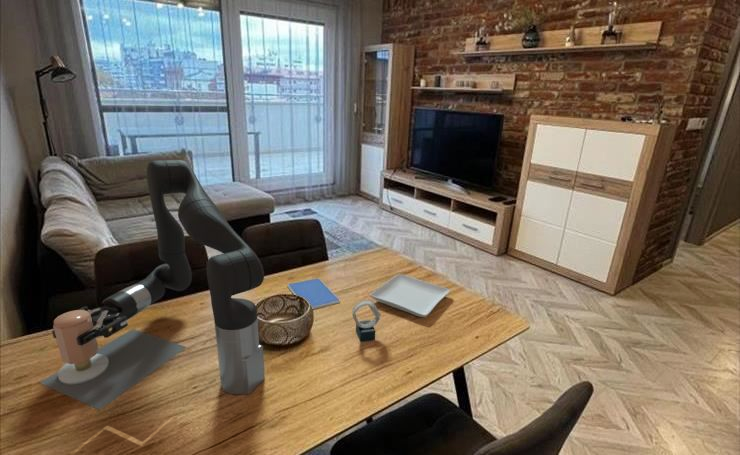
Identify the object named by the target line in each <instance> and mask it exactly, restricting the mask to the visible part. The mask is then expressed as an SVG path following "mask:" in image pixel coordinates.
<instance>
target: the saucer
mask: <svg viewBox="0 0 740 455" xmlns="http://www.w3.org/2000/svg"><path fill="white" fill-rule="evenodd" d="M90 359H91V364H92V366H91V367H90V368H89V369H87V370H84V371H76V369H75V365H74V364H68V363H66V362H65V364H64V365H62V366H61V368H60V369H59V370H58V371H57V372H58V378H59V381H60V382H61V383H63V384H66V385H76V384H81V383H85V382H88V381H91V380H93V379H95V378H97V377H98V376H100V375H101V374H103V373H104V372H105V371H106V370H107V368H108V366H109V361H108V358H107V357H106V356H105V355H102V354H96V355H95V356H93V357H92V358H90Z"/></svg>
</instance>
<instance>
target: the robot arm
mask: <svg viewBox="0 0 740 455" xmlns="http://www.w3.org/2000/svg"><path fill="white" fill-rule="evenodd" d="M146 180H147V188H148V193H149V197H150V204H151V209H152V212H153V216H154V222H155V226H156V232H157V248H158V258H159V259H160V260H161V261H162V262H164V263H162V264H160V265H158V266H156V267H155V268H154V269H153V270H152V271H150V273H149V274H148V275H147V276H146V277H145V279H142V280H140V281H138V282H137V283H135V284H132V285H131V286H128V287H125V288H123V289H121V290H119V291H117V292H116V293H114V294H112V295H110V296H108V297H106V298H105V299H103V301H102V302H101V304H100V305H99V306H98V307H95V308H93V309H89V308H88V306H86V305H85V306H82V307H80V308H79V309H78V310H85V311H88V312H89V314H91V318H92V323H93V327H94V329H90V330H89V331H87V332H85V333H83V334H82V335H80V336H78V337H77V343H78V345H81V346H82V345H84V344H86V343H88V342H89V341H91V340H93V339H94V338H96V339H98V338H101V337H104V338H106V339H107V338H109V337H111V336H113V335H115V334H116V333H118V332H120V331H122V330H123V329H125V328H127V327H128V320H130V319H131V318H133V317H135V316H137V314H139V313H141V312H143V311H144V310H145V309H146V308H148V307H149V306H150V305H151V306H152V304H154V303H155V302H157V301H159V300H160V299H162V297H164V295H165V293H166V288H167V289H170V290H173V291H176V292H181V291H182V292H183V291H185V290H187V289H188V288H189V286H190V285H191V283H192V280H193V274H192V268H191V266H190V263H189V260H188V257H187V255H186V245H185V243H186V242H185V233H184V232H186V234H187V235H188V236H189V237H190V238H191V239H193V241H195V242H197V243H199V244H201V245H203V246H205V247H208V248H210V249H213V250H215V251H218V252H220V253H222V254H218V255H213V256H211V257H209V258H208V260H207V263H206V277H207V284H208V289H209V295H210V301H211V308H212V315H213V321H214V329H215V330H214V332H215V339H216V350H217V359H218V360H217V361H218V369H219V376H220V377H219V378H220V386H221V389H222V390H223V391H224V392H226V393H228V394H231V395H243V394H246V395H250V394H251V393H252V392H253V391H254V390H256V388H257V387H258V386H259V385H260V384H261V383H262V382H263V381H264V380H265V378H266V377H265V361H264V347H263V346H264V345H261V344H260V340H259V339H260V337H259V323H258V308H257V306H256V303H254V302H253V301H251V300H250V299H246V298H238V297H236V298H235V297H233V296H235V295H238V294H243V293H245V292H248V291H252V290H254V289H256V288H259V287H260V286H261V285H262V284H263V283H264V280H265V270H264V267H263V264H262V263H261V260H260V258H259V257H258V255H257V254H256V252H254V250H253V249H252V248H251V247H250V245H248V243H246V242H245V240H244V239H243V238H242V237H241V236H240V235H239V234H238V233H237V232H236V231H235V230H234V228H233V227H232V226H231V225H230V224H229V223H228V221H227V220H226V218H225V217H224V215H223V214H222V212H221V211H220V209H219V208H218V207H217V205H216V204H215V202H213V200H212V199H211V198H210V197H209V195H208V193H207V192H206V191H205V189H204V188H203V185H201V183H200V181H199V179H198V178H197V175H196V174H195V172H194V170H193V168H192V167H191V165H190V164H189V163H188V162H187V161H185V160H184V159H183V160H182V159H166V160H165V159H164V160H163V159H161V160H151V161H150V162H149V163H147V166H146ZM170 194H171V195H172V194H185V195H184V196H183V198H182V200H181V201H180V203H179V207H178V211H177V216H178V220H179V222H178V220H177V219H176V218H175V217H174V215H173V214H172V213H171V212H170V211H169V209H168V207H167V205H166V202H165V198H164V195H170ZM181 225H182V226H181ZM182 227H183V228H182ZM183 229H184V230H185V231H184V230H183ZM110 329H111V330H110ZM51 334H52V337H53V339H56V335H55V332H54V329H52V333H51Z"/></svg>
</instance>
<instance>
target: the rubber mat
mask: <svg viewBox="0 0 740 455" xmlns="http://www.w3.org/2000/svg"><path fill="white" fill-rule="evenodd" d="M186 348H187V349H188V347H187V346H184V345H182V344H179V343H176V342H173V341H170V340H167V339H163V338H162V337H159V336H155V335H152V334H149V333H146V332H143V331H140V330H137V329H134V328H132V329H130V330H128V331H126V332H125V333H123V334H122V335H120V336H118V337H116V338H115V339H113V340H111V341H109V342H108V343H106V344H104V345H102V346H101V347H98V350H97V353H96V354H102V355H105V356H106V357H107V358H108V361H109V366H108V368H107V370H106V371H105V372H104V373H103V374H101V375H100V376H98V377H97V378H95V379H93V380H91V381H88V382H85V383H81V384H76V385H66V384H63V383H61V382H60V381H59V378H58V372H59V371H57V372H55V373H54V374H51V376H48V377H47V378H45V379H43V380H41V381H40V382H39V384H41V385H43V386H45V387H47V388H49V389H51V390H54V391H56V392H58V393H60V394H62V395H65V396H67V397H70V398H72V399H74V400H76V401H78V402H80V403H83V404H84V405H87V406H89V407H92V408H94V409H96V410H98V411H100V410H101V409H103V408H104V407H106V406H108V405H109V404H110V403H111V402H113V401H114V400H116V399H117V398H118V397H119V396H121V395H123V394H124V393H126V392H127V391H128V390H130V389H131V388H132V387H134V386H135V385H136V384H138V383H140V382H141V381H142V380H144V379H145V378H146V377H147V376H149V375H151V374H152V373H153V372H155V371H156V370H157V369H159V368H160V367H161V366H163V365H164V364H166V363H167V362H169V361H170V360H172V359H173V358H174V357H176V355H179V353H181V352H183V351H184V350H185V349H186Z"/></svg>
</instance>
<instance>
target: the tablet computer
mask: <svg viewBox="0 0 740 455" xmlns="http://www.w3.org/2000/svg"><path fill="white" fill-rule="evenodd" d="M286 287H287V288H288V290H289V291H290V292H291V294H293V296H294V295H297V296H301V297H303V298H305V299H306V300H307V301H308V302H309V304H310V305H311V307H312V308H313V310H315V309H320V308H324V307H328V306H332V305H336V304H340V303H341V300H340V298H339V297H338V296H337V295H336V294H335V293H334V292H333V291H332V290H331V289H330V288H329V287H328V286H327V285H326V284H325V283H324V282H323V280H321V279H320V278H318V277H317V278H316V277H315V278H312V279H308V280H303V281H297V282H292V283H288V284H287V285H286Z"/></svg>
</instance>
